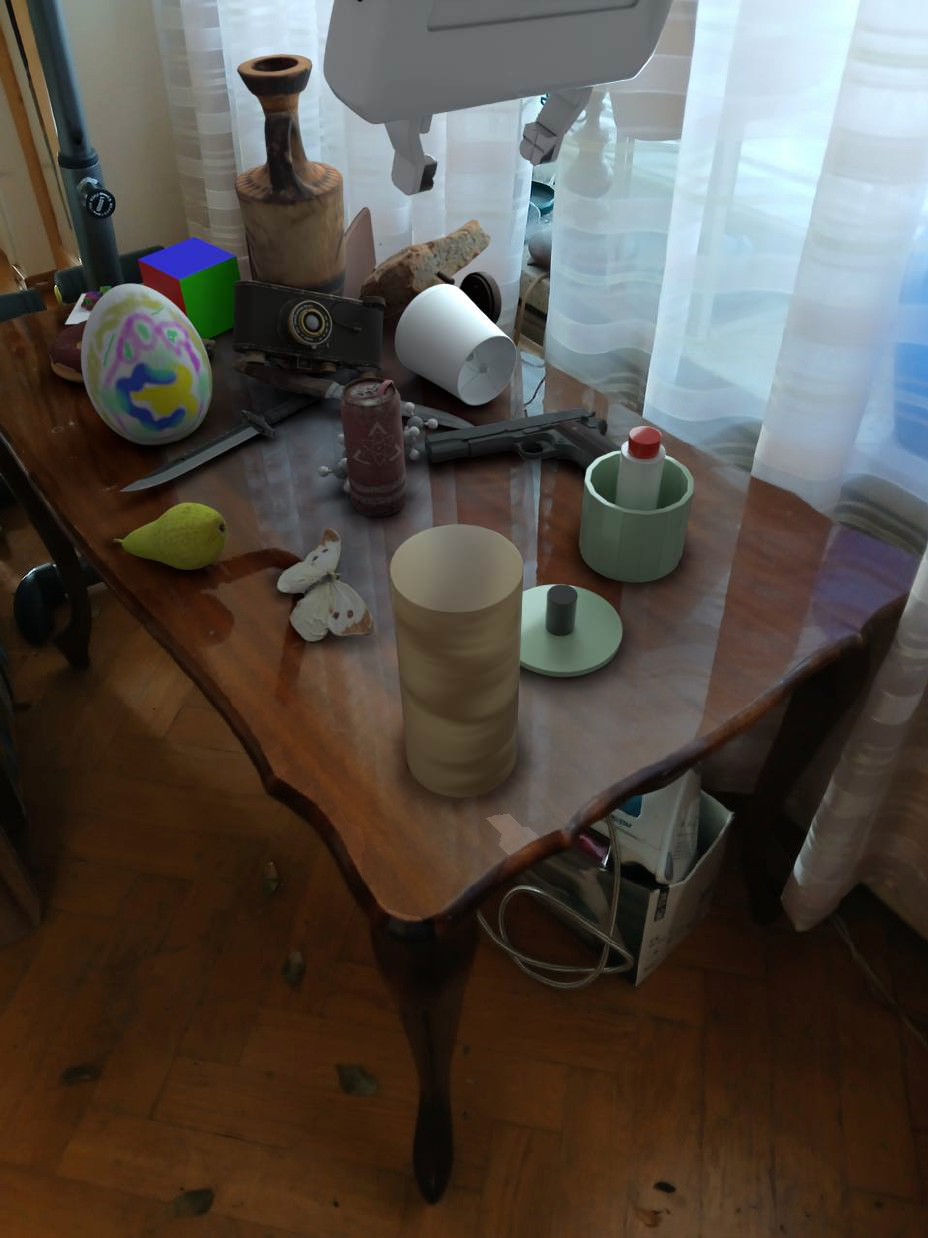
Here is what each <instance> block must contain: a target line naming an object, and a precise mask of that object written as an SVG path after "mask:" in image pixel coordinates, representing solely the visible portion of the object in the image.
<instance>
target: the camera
mask: <svg viewBox="0 0 928 1238" xmlns="http://www.w3.org/2000/svg"><path fill="white" fill-rule="evenodd" d="M234 289H235V292H234V327H233V330H232V331H233V332H232V346H231V349H232V351H233V352H234V353H237V354H241V355H245V357H246V363H248V364H252V365H267V364H266V363H267V362H270V363H271V362H273V361H275V360H276V359H282V360H285V361H283V362H282V363H283V364H286V363H288V362H289V370H292V371H300V370H311V369H312V364H316V365H319V372H318V373H323V374H335V373H337V368H338V369H345V370H351V371H357V372H358V373H357V375H358V377H357V379H361V378H366V377H376V372H380V371H382V369H383V365H382V359H383V358H382V356H383V334H384V333H383V328H384V319H383V312H384V311H385V310H386V308H385V305H386V304H385V300H384V299H383V298H381V297H377V296H366V297H364V298H362V300H360V299H359V300H355V299H350V298H344V297H339V296H334V295H328V294H323V293H317V292H312V291H306V290H301V289H296V288H290V287H285V286H279V285H274V284H268V283H263V282H258V281H252V279H241V280H240V281H236V282H235V283H234Z"/></svg>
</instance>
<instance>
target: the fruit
mask: <svg viewBox="0 0 928 1238" xmlns="http://www.w3.org/2000/svg"><path fill="white" fill-rule="evenodd" d="M228 538H229V530H228V526H227V523H226V521H225V519H224V517H223V516H222V514H220V513H219V512H218V511H217V510H215V509H214V508H212V507H210V506H208V505H204V504H202V503H196V502H182V503H179V504H177V505H174V506H172V507H171V508H169V509H168V510H167V511H165V512H164V513H163V514H162V515H161V516H160V517H159V518H157V519H156V520H154V521H152V522H149V523H148V524H144V525H143V526H141V527H139V528H137V529H135V530H133V531H132V532H130V533H129V534H128V535H127V536H125V537H124V538H123V539H119V538H113V539H112V543H114V544H121V546H122V549H124V551H126V552H127V553H129V554H131V555H134V556H136V557H139V558H143V559H147V560H152V561H156V562H160V563H163V564H166V565H167V566H169V567H170V566H171V567H172V568H175V569H179V570H183V571H190V570H192V571H193V570H199V569H203V568H204V567H205V568H206V567H207V566H208V565H210V564H212V563H213V562H214V561H216V560H217V558H218V557H219V556H220V555H221V553H222V552H223V550H224V548H225V547H226V545H227V541H228Z"/></svg>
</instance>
